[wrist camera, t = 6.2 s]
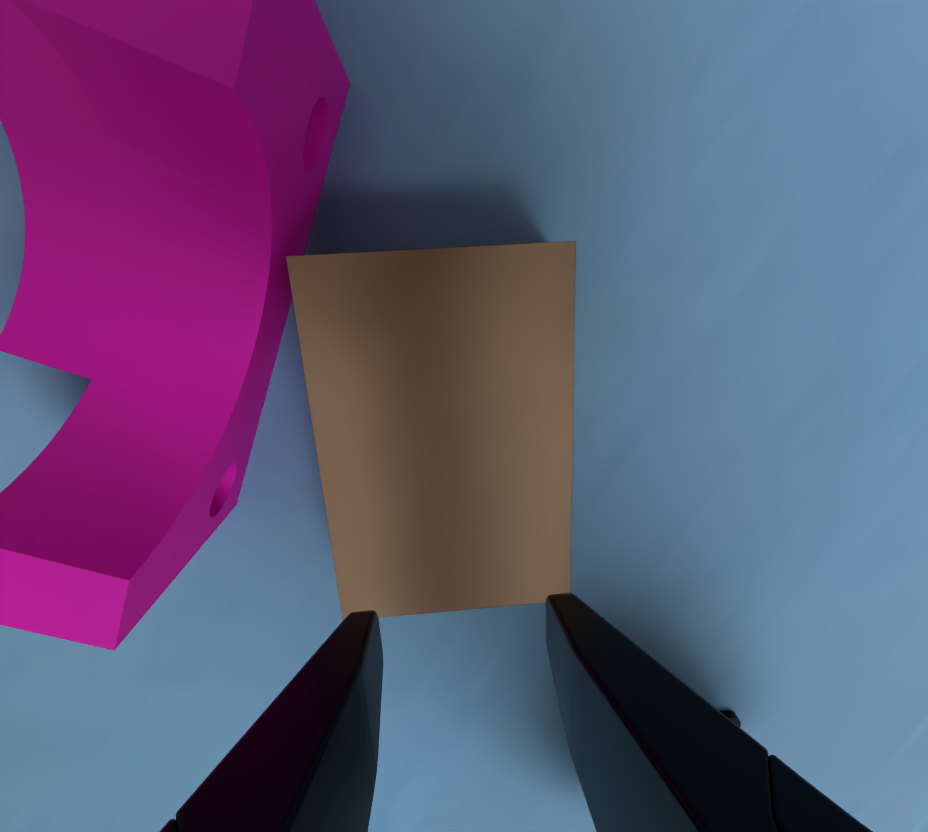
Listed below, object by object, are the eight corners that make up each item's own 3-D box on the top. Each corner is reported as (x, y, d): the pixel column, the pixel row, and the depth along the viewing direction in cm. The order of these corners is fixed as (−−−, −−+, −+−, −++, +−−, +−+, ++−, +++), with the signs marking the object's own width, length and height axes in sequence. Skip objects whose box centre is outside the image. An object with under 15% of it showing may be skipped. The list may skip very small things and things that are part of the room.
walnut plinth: (549, 246, 16) (576, 241, 13) (549, 552, 20) (570, 599, 17) (312, 259, 16) (285, 256, 13) (356, 568, 19) (342, 620, 16)
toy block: (138, -9, 14) (-190, -325, 6) (350, 86, 15) (273, -95, 7) (65, 453, 17) (-193, 580, 10) (238, 502, 18) (114, 650, 11)
